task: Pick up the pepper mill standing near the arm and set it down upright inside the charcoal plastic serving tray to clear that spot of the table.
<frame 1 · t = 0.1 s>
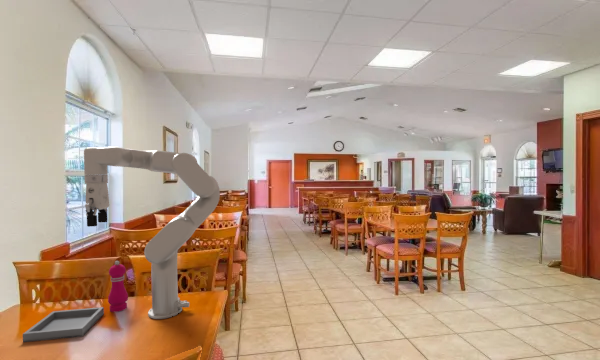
hand: (97, 224, 125), 37 cm above the table, tool pointing down, fingers open, 9 cm apart
pepper mill: (118, 309, 134), on the table
serving tray: (67, 326, 119), on the table
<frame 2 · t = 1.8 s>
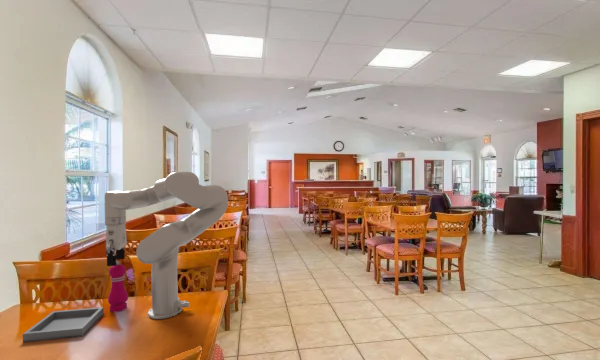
hand: (116, 262, 133), 19 cm above the table, tool pointing down, fingers open, 9 cm apart
nothing on the table moved.
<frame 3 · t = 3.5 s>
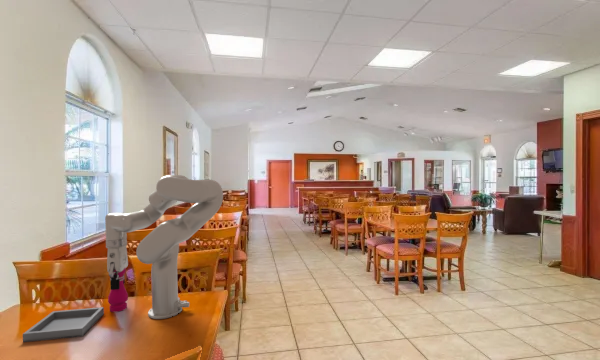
hand: (117, 286, 134), 9 cm above the table, tool pointing down, fingers closed on pepper mill, 5 cm apart
pepper mill: (118, 309, 134), on the table, touching gripper
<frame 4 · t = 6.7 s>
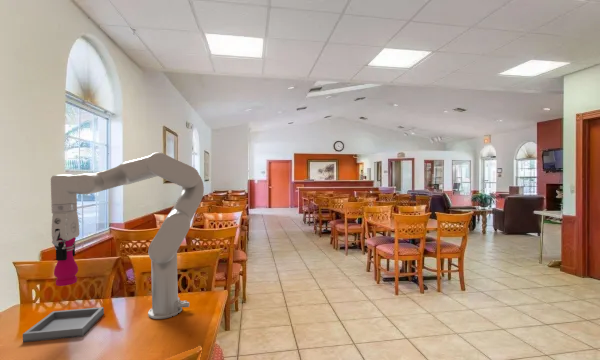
hand: (65, 257, 118), 25 cm above the table, tool pointing down, fingers closed on pepper mill, 5 cm apart
pepper mill: (66, 283, 119), point 16 cm above the table, touching gripper
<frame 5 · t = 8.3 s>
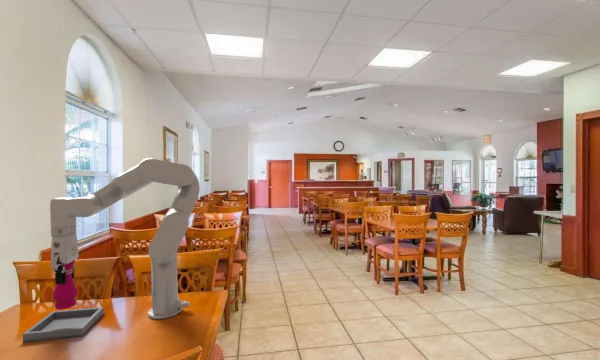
hand: (65, 280, 118), 17 cm above the table, tool pointing down, fingers closed on pepper mill, 5 cm apart
pepper mill: (65, 306, 118), point 8 cm above the table, touching gripper
when the fingers open (12 cm above the table, at t = 9.8 s): pepper mill stays where it is, resting on serving tray.
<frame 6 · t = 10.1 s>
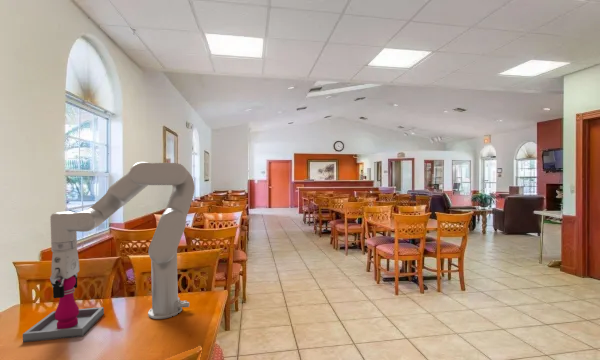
hand: (65, 292, 118), 13 cm above the table, tool pointing down, fingers open, 9 cm apart
pepper mill: (67, 325, 118), resting on serving tray
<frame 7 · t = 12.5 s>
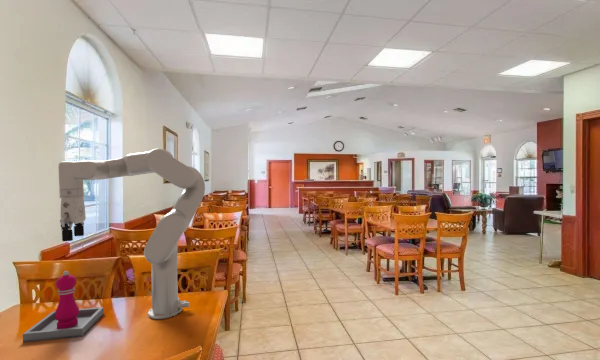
hand: (73, 238, 124), 31 cm above the table, tool pointing down, fingers open, 9 cm apart
nothing on the table moved.
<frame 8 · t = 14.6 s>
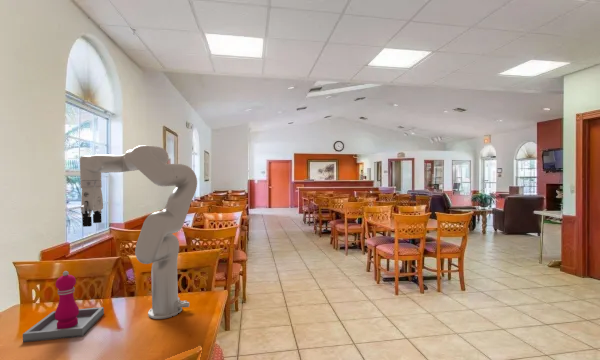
hand: (92, 224, 139), 34 cm above the table, tool pointing down, fingers open, 9 cm apart
nothing on the table moved.
at the end: pepper mill inside the target area on the serving tray (0.2 cm from its centre), point 0.4 cm above the serving tray's base; pepper mill tilted 0°; the gripper is holding nothing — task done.
